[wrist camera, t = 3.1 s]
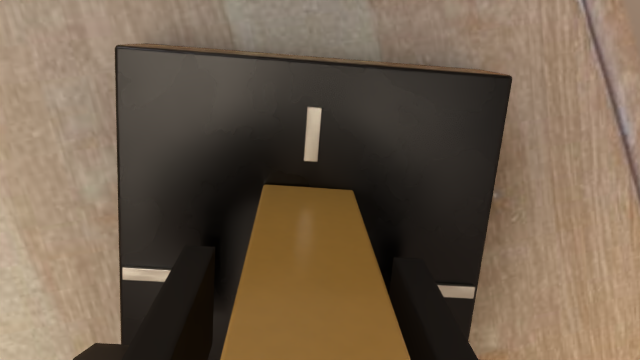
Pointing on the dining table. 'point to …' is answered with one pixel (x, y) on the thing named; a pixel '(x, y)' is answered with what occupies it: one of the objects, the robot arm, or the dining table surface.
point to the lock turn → (311, 284)
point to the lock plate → (299, 161)
